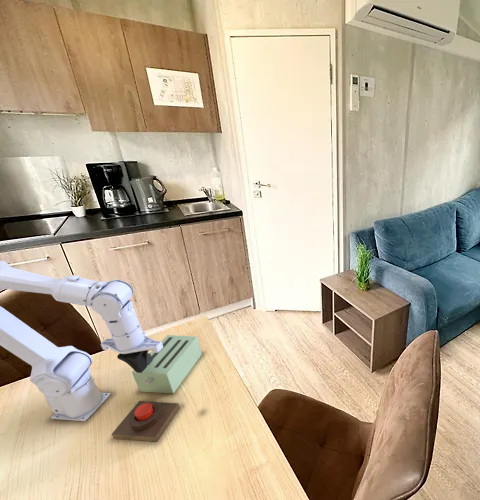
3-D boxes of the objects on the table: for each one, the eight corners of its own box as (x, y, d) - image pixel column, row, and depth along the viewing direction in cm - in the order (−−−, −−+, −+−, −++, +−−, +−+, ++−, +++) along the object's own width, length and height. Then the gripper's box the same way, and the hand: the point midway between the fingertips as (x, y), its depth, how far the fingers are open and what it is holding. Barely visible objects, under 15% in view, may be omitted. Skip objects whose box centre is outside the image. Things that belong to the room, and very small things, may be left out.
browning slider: (141, 365, 80) (139, 358, 78) (146, 359, 81) (144, 352, 80) (147, 365, 79) (145, 358, 78) (152, 360, 81) (150, 353, 80)
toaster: (135, 396, 79) (126, 376, 76) (173, 352, 94) (167, 334, 91) (169, 398, 79) (162, 378, 75) (202, 354, 94) (197, 336, 91)
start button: (132, 420, 70) (130, 415, 69) (143, 407, 73) (141, 402, 72) (146, 421, 69) (144, 416, 69) (156, 408, 73) (155, 403, 72)
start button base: (113, 438, 69) (108, 429, 67) (141, 405, 77) (137, 395, 75) (157, 441, 68) (153, 432, 66) (180, 407, 76) (177, 398, 75)
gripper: (164, 319, 72) (177, 359, 78) (110, 317, 73) (127, 356, 79) (144, 338, 66) (160, 380, 71) (86, 335, 67) (105, 377, 72)
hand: (141, 369), depth 75 cm, fingers closed
